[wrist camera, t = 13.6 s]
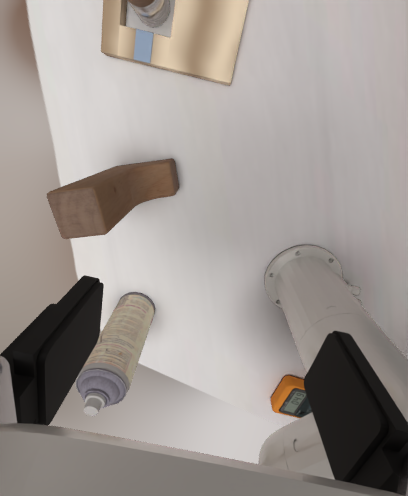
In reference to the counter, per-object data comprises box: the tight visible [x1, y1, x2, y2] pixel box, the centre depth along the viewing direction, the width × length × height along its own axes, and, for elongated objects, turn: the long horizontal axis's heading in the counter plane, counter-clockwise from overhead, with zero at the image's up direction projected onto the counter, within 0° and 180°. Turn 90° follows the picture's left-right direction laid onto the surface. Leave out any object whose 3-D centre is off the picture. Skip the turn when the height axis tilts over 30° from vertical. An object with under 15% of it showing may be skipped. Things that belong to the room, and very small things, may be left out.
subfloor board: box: [101, 0, 249, 86], centre depth 31 cm, size 16×12×2 cm
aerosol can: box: [76, 292, 155, 416], centre depth 41 cm, size 7×7×20 cm
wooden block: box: [47, 159, 179, 239], centre depth 32 cm, size 9×4×18 cm, turn 98°
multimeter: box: [271, 375, 312, 418], centre depth 56 cm, size 9×18×3 cm, turn 72°
